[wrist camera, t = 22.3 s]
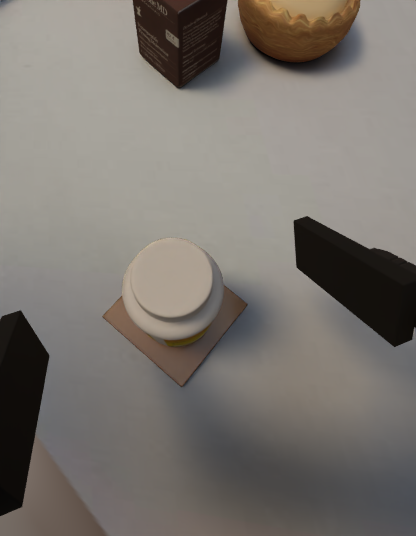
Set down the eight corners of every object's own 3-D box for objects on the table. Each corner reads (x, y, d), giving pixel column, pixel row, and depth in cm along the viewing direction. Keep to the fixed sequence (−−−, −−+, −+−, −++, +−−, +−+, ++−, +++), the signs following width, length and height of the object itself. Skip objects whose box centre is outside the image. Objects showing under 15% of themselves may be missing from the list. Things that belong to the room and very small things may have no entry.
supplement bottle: (223, 294, 25) (248, 250, 16) (193, 360, 24) (201, 357, 14) (160, 264, 26) (147, 204, 16) (127, 328, 24) (88, 303, 14)
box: (138, 54, 33) (125, -31, 26) (181, 26, 34) (180, -61, 27) (179, 90, 32) (177, 12, 25) (221, 60, 33) (231, -21, 26)
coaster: (181, 386, 24) (181, 387, 23) (103, 317, 25) (101, 316, 24) (246, 305, 26) (247, 304, 25) (172, 244, 27) (171, 242, 26)
